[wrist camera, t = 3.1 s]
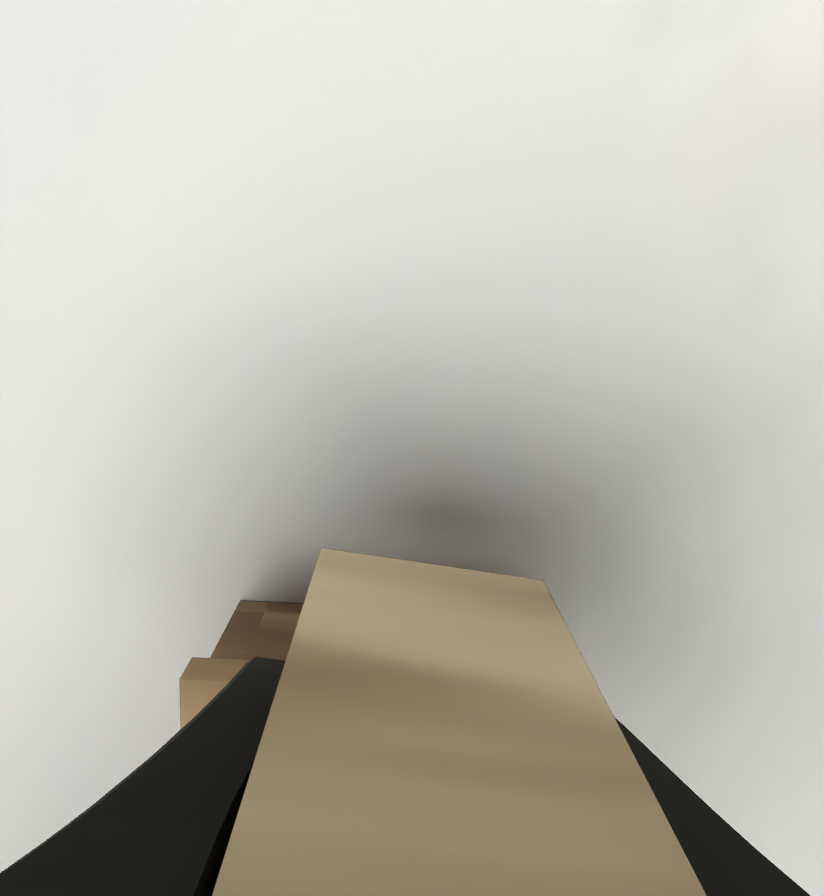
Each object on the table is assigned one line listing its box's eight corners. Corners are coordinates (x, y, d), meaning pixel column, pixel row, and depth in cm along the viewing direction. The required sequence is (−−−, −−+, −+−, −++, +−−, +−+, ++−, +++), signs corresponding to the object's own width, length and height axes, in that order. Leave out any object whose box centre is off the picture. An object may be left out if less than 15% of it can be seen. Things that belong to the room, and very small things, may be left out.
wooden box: (469, 996, 21) (485, 1153, 17) (240, 990, 21) (203, 1148, 17) (509, 613, 18) (540, 699, 14) (240, 600, 18) (195, 685, 14)
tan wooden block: (500, 770, 11) (621, 1334, 5) (293, 743, 10) (161, 1301, 5) (543, 580, 10) (752, 980, 4) (320, 548, 10) (204, 921, 4)
